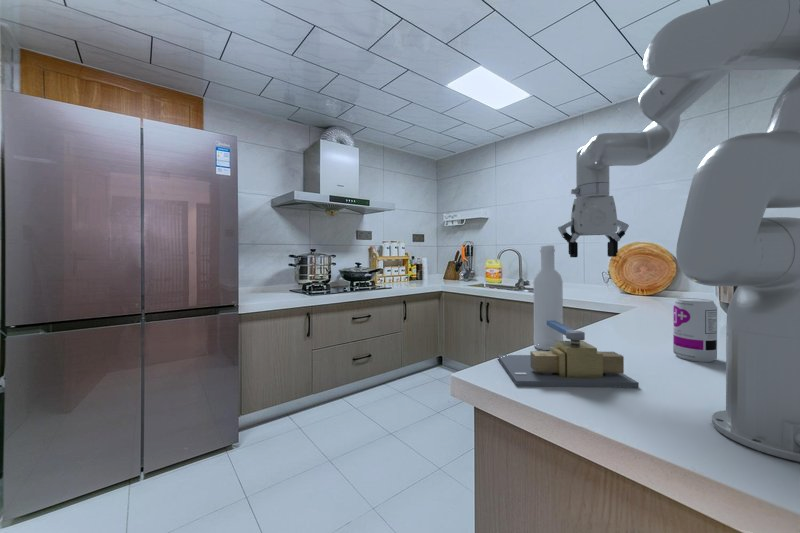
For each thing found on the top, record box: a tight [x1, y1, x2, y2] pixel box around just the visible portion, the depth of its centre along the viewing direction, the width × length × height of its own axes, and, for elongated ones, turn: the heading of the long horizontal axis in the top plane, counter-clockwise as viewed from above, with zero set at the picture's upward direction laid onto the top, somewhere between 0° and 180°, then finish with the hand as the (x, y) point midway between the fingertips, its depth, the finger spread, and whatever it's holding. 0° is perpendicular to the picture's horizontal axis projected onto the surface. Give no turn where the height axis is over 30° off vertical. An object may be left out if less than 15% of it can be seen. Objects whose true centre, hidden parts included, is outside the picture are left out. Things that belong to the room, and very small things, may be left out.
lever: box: [547, 321, 586, 341], centre depth 76 cm, size 16×4×1 cm, turn 175°
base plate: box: [496, 354, 640, 389], centre depth 74 cm, size 18×24×1 cm
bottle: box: [532, 244, 564, 351], centre depth 93 cm, size 8×8×30 cm
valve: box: [529, 340, 625, 378], centre depth 70 cm, size 6×18×8 cm, turn 85°
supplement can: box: [672, 297, 718, 363], centre depth 82 cm, size 8×8×15 cm
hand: (592, 256), depth 85 cm, fingers open, 9 cm apart
